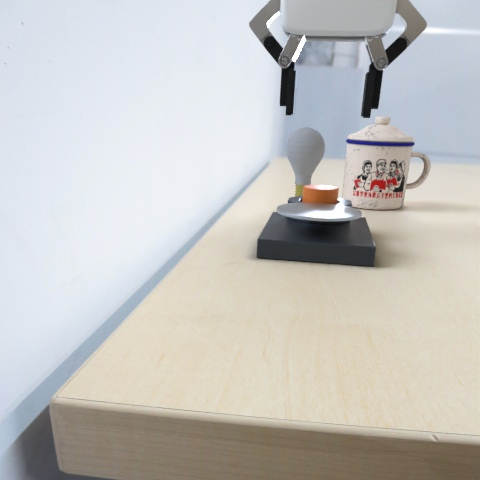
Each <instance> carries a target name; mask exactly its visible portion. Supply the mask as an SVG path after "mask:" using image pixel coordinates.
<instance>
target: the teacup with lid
mask: <svg viewBox="0 0 480 480" xmlns="http://www.w3.org/2000/svg"><path fill="white" fill-rule="evenodd" d="M345 143H347V144H346V153H345V162H344V172H343V181H342V188H341V189H342V190H341V198H343V199H346V200H349V201H351V202H352V208H356V209H357V208H358V209H364V210H373V211H374V210H377V211H380V210H381V211H385V210H386V211H390V210H398V209H400V208H402V207H403V206H404V202H405V198H406V197H405V195H406V190H412V189H416V188H419V187H420V186H421V185H422V184H424V182H425V181H426V180H427V178H428V176H429V175H430V171H431V167H432V164H431V160H430V158H429V156H428V155H427V154H426V153H423V152H420V151H413V147H414V146H415V138H414V137H413V136H411V135H409V134H406V133H404V132H403V131H402V130H400V128H399V127H397V126H395V125H391V117H390V116H375V118H374V124H369V125H367V126H365V127H363V128H362V129H361V130H358V131H357V132H353V133H350V134H348V136H347V139H345ZM411 158H419V159H421V160H422V162H423V170H422V172H421V174H420V175H419V177H418V178H417V179H416V180H414V181H413V182H410V183H408V177H409V171H410V163H411V160H412V159H411Z"/></svg>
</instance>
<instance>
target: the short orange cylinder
mask: <svg viewBox="0 0 480 480" xmlns="http://www.w3.org/2000/svg"><path fill="white" fill-rule="evenodd" d="M339 190H340V188H339V186H336V185H329V184H328V185H327V184H311V185H305V186H303V198H302V202H313V203H329V204H337V201H338V198H339V192H340V191H339Z"/></svg>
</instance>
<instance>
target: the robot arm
mask: <svg viewBox="0 0 480 480" xmlns="http://www.w3.org/2000/svg"><path fill="white" fill-rule="evenodd" d="M277 17H279V19H280V21H279V23H280V26H281V28H282V31H283V33H284V34H285V35H286V37H288V38H287V40H286V42H285V44H284V46H282V45H281V43H279V41H278V40H277V39H276V38H275V36H274V35H273V33H272V32H271V31H270V24H272V22H273V21H274V20H275V19H276V18H277ZM395 17H397V18H398V19H399V20H400V21H401V22H402V24H403V25H404V30H403V32H402V33H401V34H400V35H399V36H398V37H397V38H395V40H394V41H393V42H392V43H391V44H390V45H389V46H388V47H387V48H386V49H385V45H384V41H383V38H384V37H386V36H387V34H388V33H389V32H390V30H391V28H392V27H393V25H394V21H395ZM248 25H249V26H248V27H249V29H250V30H251V31H252V33H253V34H254V36H255V37H256V38H257V39H258V41H259V42H260V43H261V45H262V46H263V47H264V49H265V50H266V52H268V54H269V55H270V56H271V58H272V59H273V60H274V61H275V63H276V64H277V65H278V66H279V68H280V69H281V70H280V71H281V72H280V87H279V89H280V90H279V107H285V116H294V115H295V114H296V106H297V105H296V104H297V103H296V102H297V91H298V90H297V89H298V74H299V73H298V70H296V69H297V68H296V60H297V59H298V57H299V55H300V52H301V51H302V48H303V46H304V44H305V42H319V43H321V42H323V43H326V42H327V43H329V42H330V43H364V46H365V51H366V53H367V56H368V60H369V63H370V64H369V65H368V71H367V72H366V73H365V76H364V84H363V95H362V102H361V109H360V110H361V111H360V117H362V118H363V119H370V118H371V114H372V110H379V106H380V99H381V92H382V83H383V76H384V70H385V69H387V68H388V67H389V66H390V65H391V64H392V63H393V62H394V61H395V60H396V59H397V58H398V57H399V56H401V55H402V54H403V52H405V51H406V50H407V49H408V47H409V46H410V45H411V44H413V43H414V41H415V40H416V39H417V38H418V37H420V35H422V34H423V32H424V31H425V30H426V29H427V26H428V22H427V20H426V19H425V18H424V16H423V15H422V14H421V13H420V12H419V11H418V9H417V8H416V7H415V5H413V3H412V2H411V1H410V0H268V1H267V2H266V3H265V4H264V5H263V6H262V7H261V9H259V11H257V13H256V14H254V16H252V18H250V20H249V22H248Z"/></svg>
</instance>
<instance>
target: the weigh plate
mask: <svg viewBox="0 0 480 480" xmlns="http://www.w3.org/2000/svg"><path fill="white" fill-rule="evenodd" d="M276 212H278V213H279V214H281V215H283V216H286V217H290V218H295V219H301V220H310V221H326V222H337V221H350V220H355V219H358V218H360V217H362V215H363V213H362V211H361V210H360V209H359V208H358V209H357V208H356V207H349V206H344V205H337V204H329V203H313V202H300V203H288V202H287V203H283V204H280V205H278V206H276Z"/></svg>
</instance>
